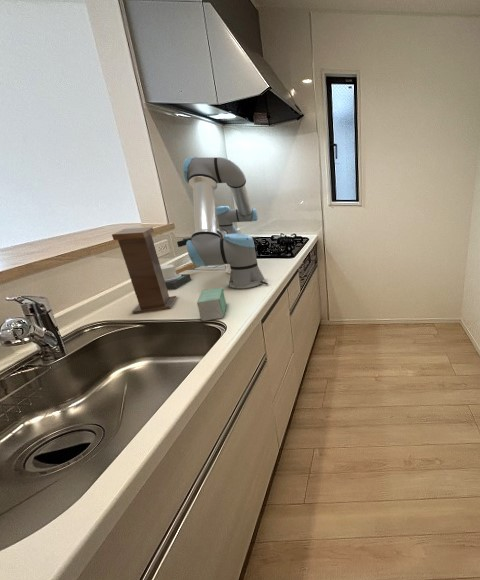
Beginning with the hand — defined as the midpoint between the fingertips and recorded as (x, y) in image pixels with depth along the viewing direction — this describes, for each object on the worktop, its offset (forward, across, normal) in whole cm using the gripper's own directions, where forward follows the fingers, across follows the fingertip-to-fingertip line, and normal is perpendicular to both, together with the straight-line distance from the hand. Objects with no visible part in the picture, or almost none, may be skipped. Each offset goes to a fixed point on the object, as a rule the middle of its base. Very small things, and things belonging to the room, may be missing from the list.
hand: (190, 244), depth 159 cm
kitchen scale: (+18, 0, -15) cm, 24 cm away
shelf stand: (+41, -14, -15) cm, 46 cm away
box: (+45, -42, -15) cm, 63 cm away
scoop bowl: (+11, 0, -11) cm, 16 cm away
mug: (-5, -21, -15) cm, 27 cm away
